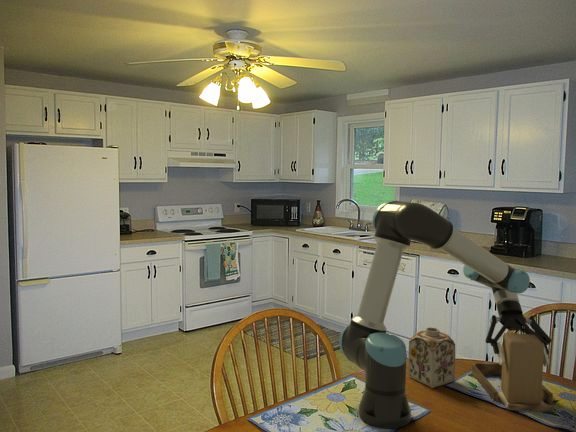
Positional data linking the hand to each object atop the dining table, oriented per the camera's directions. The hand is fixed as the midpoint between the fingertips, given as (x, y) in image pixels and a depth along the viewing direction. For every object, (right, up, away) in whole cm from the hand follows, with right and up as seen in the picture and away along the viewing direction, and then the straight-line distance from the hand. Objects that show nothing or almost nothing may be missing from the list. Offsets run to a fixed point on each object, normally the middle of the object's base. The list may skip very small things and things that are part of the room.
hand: (524, 364), depth 152 cm
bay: (0, -12, +9) cm, 15 cm away
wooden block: (0, -12, +2) cm, 12 cm away
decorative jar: (-24, -11, +18) cm, 32 cm away
